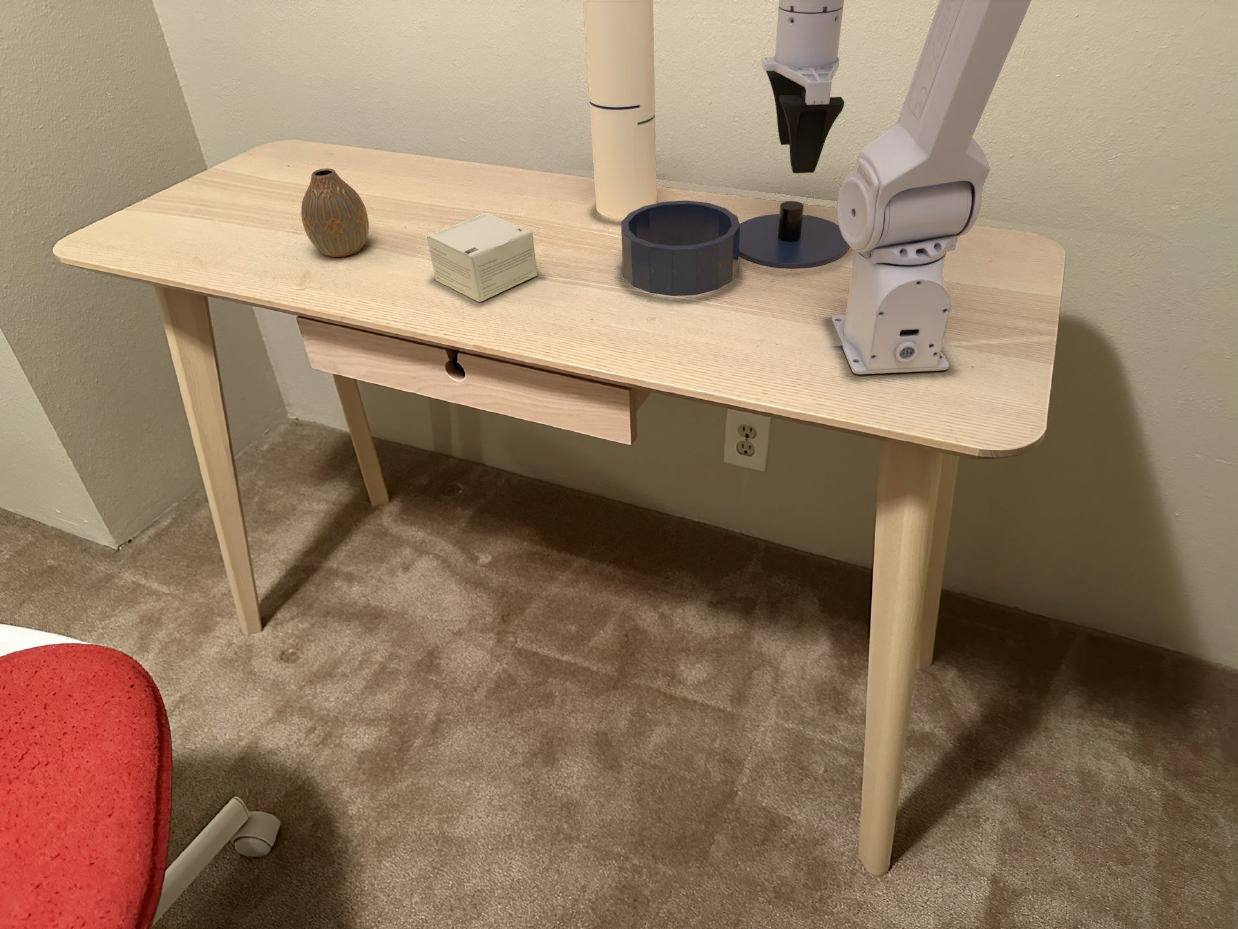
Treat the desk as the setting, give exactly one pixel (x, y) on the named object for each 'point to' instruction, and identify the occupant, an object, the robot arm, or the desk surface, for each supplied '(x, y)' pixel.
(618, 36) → the cylindrical container
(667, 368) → the desk surface
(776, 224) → the tin lid
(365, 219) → the vase
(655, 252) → the tin
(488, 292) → the small box
